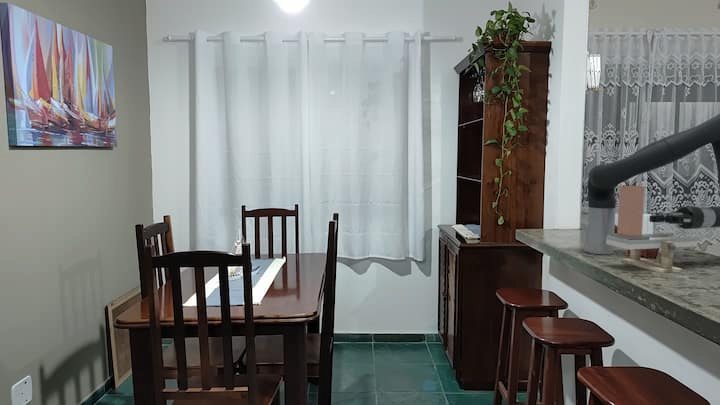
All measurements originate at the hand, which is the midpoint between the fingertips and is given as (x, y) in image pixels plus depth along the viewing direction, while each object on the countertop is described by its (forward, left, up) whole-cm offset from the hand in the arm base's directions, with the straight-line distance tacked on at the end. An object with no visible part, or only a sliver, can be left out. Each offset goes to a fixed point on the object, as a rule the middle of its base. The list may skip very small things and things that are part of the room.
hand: (651, 218), depth 162 cm
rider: (-4, -7, -7) cm, 11 cm away
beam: (0, 0, -8) cm, 8 cm away
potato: (-29, +40, -16) cm, 52 cm away
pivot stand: (0, 0, -16) cm, 16 cm away
